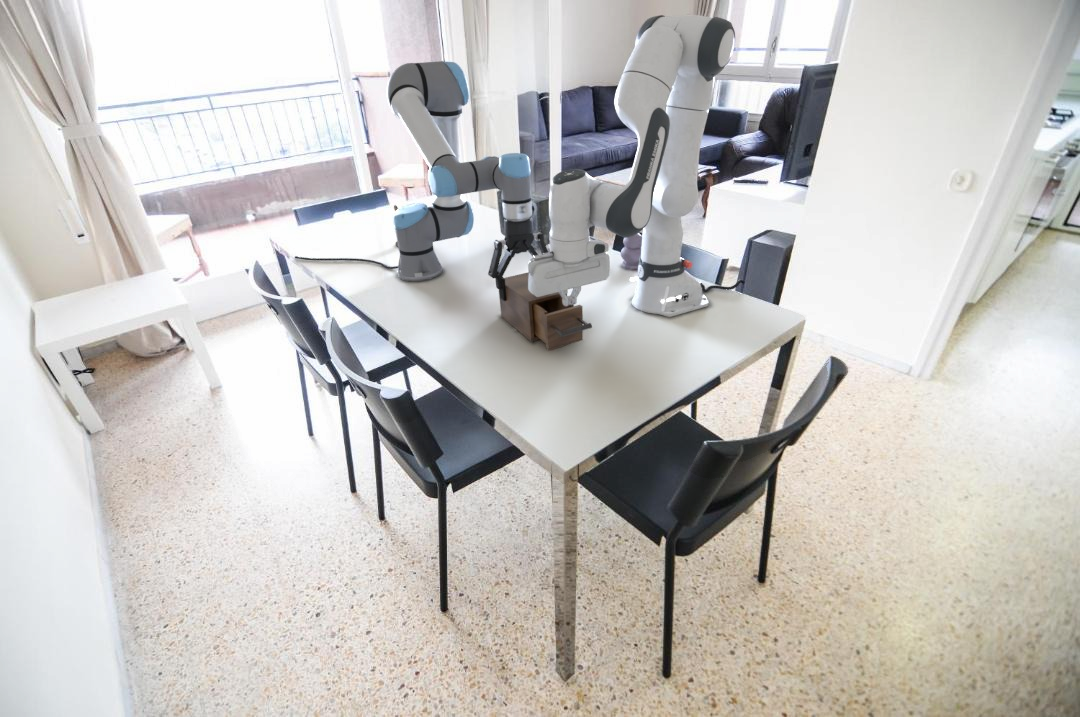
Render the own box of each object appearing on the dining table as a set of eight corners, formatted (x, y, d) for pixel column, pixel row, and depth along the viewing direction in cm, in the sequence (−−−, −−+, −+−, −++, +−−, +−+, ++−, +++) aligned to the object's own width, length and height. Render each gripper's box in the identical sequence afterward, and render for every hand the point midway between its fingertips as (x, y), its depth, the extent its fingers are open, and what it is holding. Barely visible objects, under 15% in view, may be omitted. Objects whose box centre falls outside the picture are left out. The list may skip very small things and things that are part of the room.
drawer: (594, 348, 123) (594, 313, 119) (559, 359, 120) (558, 324, 115) (548, 315, 142) (547, 284, 137) (517, 324, 138) (514, 292, 133)
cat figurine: (648, 265, 175) (651, 232, 169) (635, 272, 170) (638, 238, 164) (628, 260, 180) (630, 227, 174) (615, 266, 175) (616, 233, 169)
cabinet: (568, 330, 135) (567, 291, 129) (531, 341, 130) (528, 301, 125) (535, 307, 150) (533, 271, 144) (501, 316, 145) (497, 279, 140)
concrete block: (555, 250, 192) (555, 197, 181) (537, 255, 188) (535, 201, 177) (517, 234, 210) (514, 185, 200) (499, 238, 206) (496, 189, 196)
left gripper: (481, 228, 122) (489, 308, 134) (564, 213, 132) (565, 289, 143) (470, 221, 128) (478, 299, 139) (550, 207, 137) (552, 281, 149)
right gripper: (534, 261, 104) (537, 320, 111) (614, 243, 112) (612, 299, 119) (521, 252, 109) (524, 309, 116) (599, 236, 117) (597, 290, 124)
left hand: (522, 294), depth 141 cm, fingers closed on cabinet, 11 cm apart
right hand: (569, 304), depth 118 cm, fingers closed
